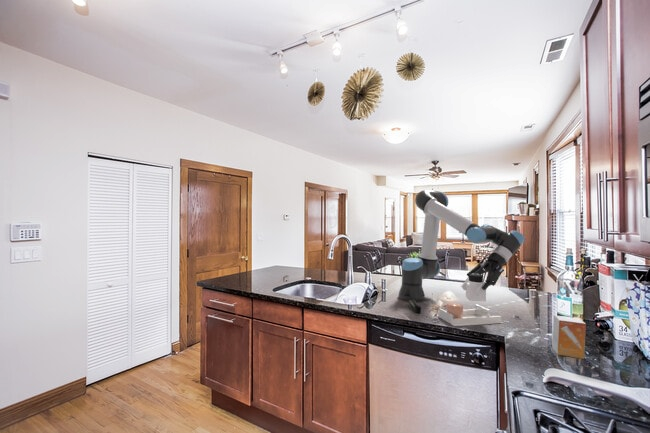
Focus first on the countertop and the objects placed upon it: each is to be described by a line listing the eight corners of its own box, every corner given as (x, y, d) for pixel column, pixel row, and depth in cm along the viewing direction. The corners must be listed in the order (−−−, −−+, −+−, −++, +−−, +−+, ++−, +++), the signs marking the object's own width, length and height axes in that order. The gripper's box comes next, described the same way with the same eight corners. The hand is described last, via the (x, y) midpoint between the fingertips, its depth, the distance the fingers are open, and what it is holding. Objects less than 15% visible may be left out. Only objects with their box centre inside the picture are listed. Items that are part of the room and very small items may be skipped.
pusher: (474, 314, 151) (475, 304, 151) (482, 314, 152) (482, 304, 152) (487, 320, 142) (487, 310, 142) (495, 320, 143) (495, 309, 143)
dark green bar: (422, 306, 151) (411, 297, 166) (416, 306, 151) (406, 297, 166) (421, 316, 151) (411, 306, 166) (415, 316, 151) (406, 306, 166)
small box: (557, 355, 112) (558, 319, 111) (551, 348, 118) (553, 314, 117) (584, 359, 109) (586, 323, 108) (577, 352, 115) (579, 317, 114)
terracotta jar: (443, 317, 146) (443, 303, 146) (456, 316, 148) (456, 302, 148) (452, 322, 139) (452, 307, 139) (465, 322, 141) (466, 307, 141)
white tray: (436, 317, 149) (436, 307, 149) (481, 314, 155) (481, 304, 155) (454, 328, 136) (454, 317, 135) (502, 324, 141) (503, 314, 141)
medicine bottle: (485, 302, 141) (486, 276, 141) (469, 300, 142) (469, 275, 142) (481, 297, 148) (481, 273, 148) (465, 296, 149) (466, 272, 149)
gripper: (522, 266, 138) (491, 303, 134) (487, 259, 159) (459, 290, 156) (513, 255, 136) (481, 291, 133) (478, 249, 158) (450, 280, 154)
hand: (469, 291), depth 144 cm, fingers closed on medicine bottle, 9 cm apart
